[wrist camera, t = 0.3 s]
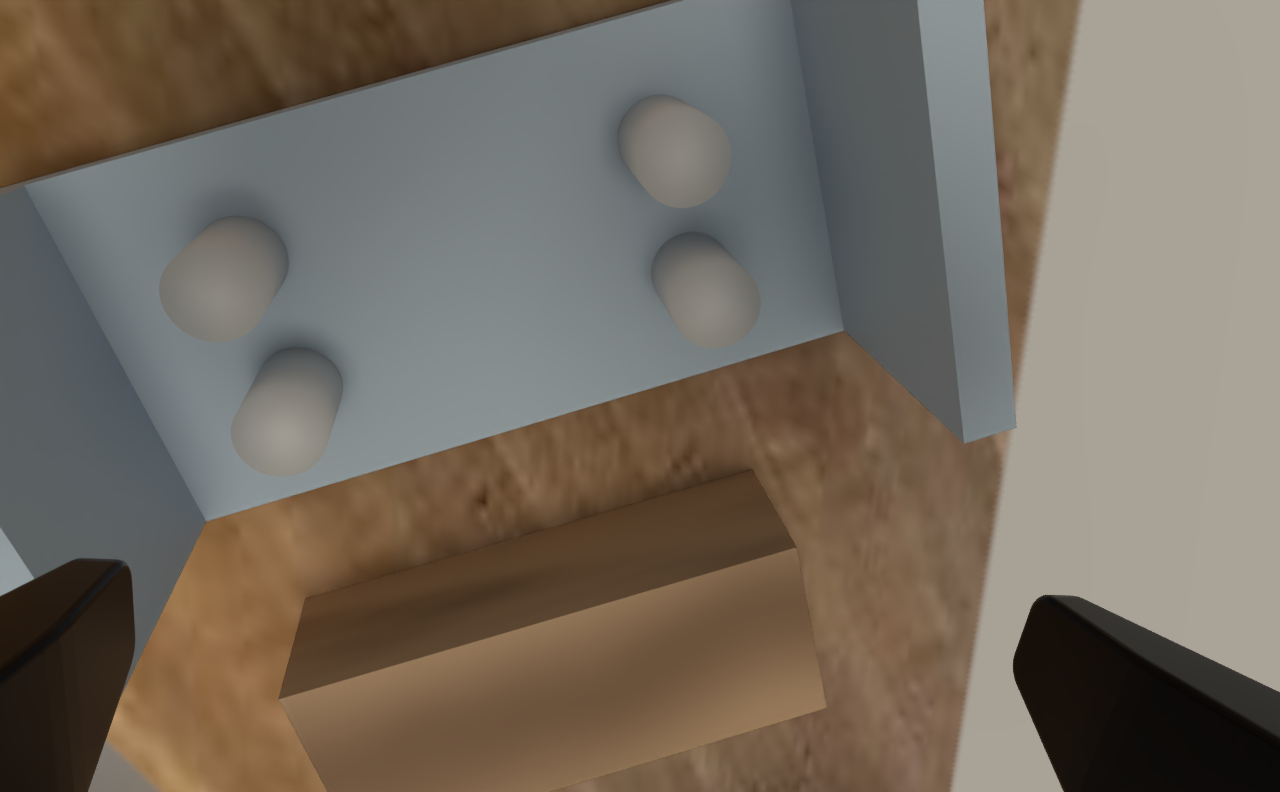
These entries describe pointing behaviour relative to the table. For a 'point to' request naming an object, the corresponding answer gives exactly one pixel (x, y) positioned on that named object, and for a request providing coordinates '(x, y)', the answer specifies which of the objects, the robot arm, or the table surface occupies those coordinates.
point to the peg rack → (492, 262)
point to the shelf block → (560, 650)
